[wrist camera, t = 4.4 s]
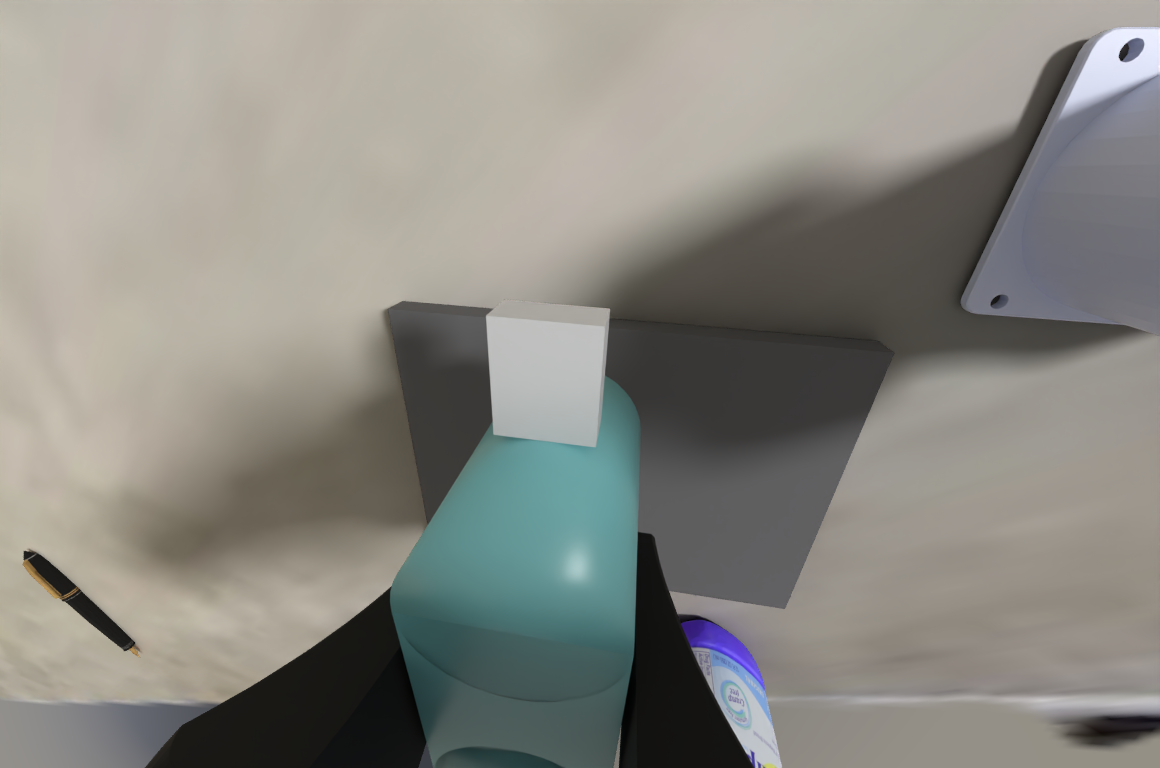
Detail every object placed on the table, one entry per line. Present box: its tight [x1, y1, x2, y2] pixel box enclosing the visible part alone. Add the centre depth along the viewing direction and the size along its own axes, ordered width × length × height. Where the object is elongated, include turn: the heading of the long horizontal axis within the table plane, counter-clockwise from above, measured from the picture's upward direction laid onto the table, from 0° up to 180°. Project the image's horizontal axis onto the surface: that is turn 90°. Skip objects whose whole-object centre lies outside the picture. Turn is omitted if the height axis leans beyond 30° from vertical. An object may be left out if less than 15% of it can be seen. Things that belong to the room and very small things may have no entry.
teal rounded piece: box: [390, 299, 641, 768], centre depth 10 cm, size 4×12×6 cm, turn 177°
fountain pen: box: [23, 551, 139, 657], centre depth 36 cm, size 14×1×2 cm, turn 12°
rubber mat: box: [388, 301, 894, 609], centre depth 20 cm, size 20×15×1 cm
